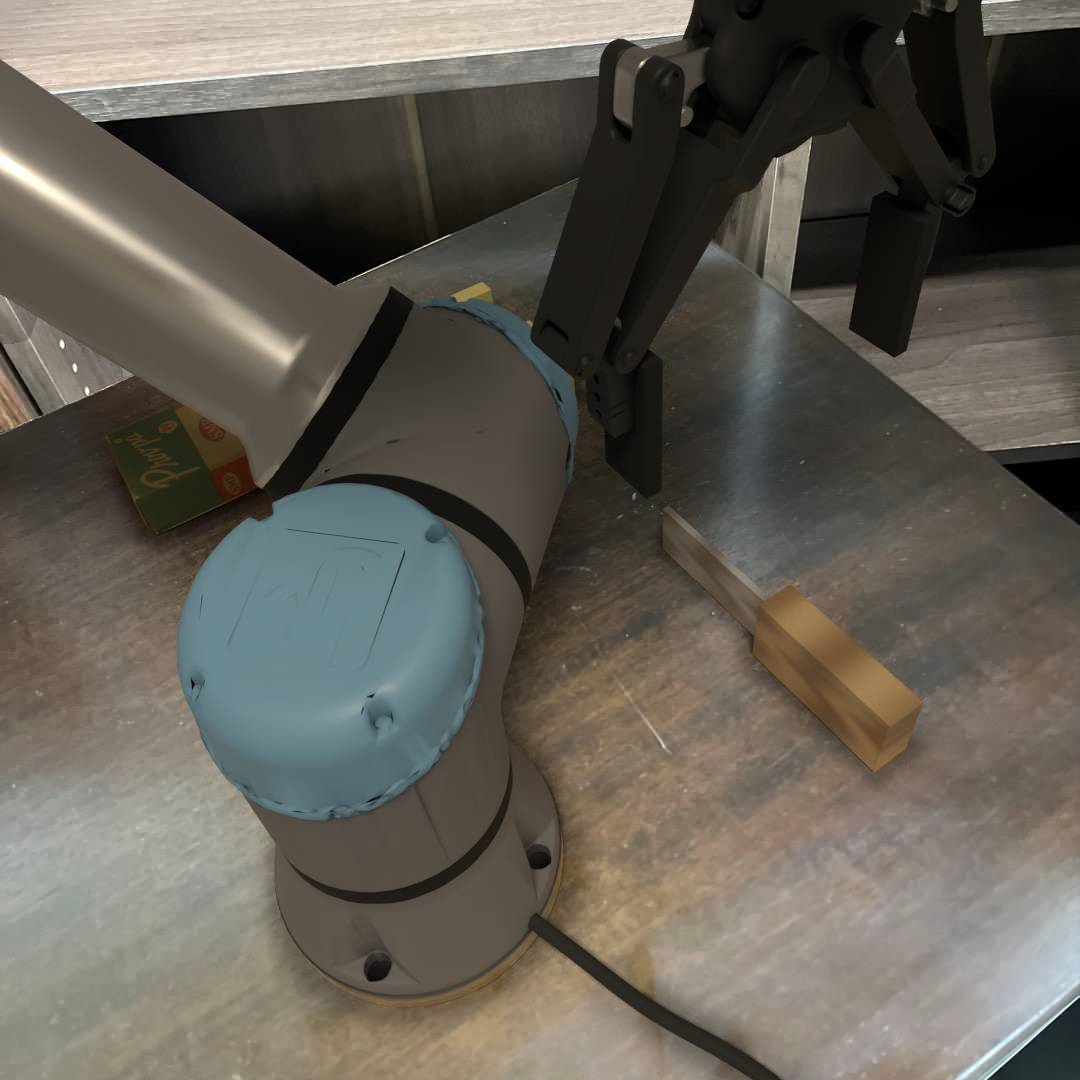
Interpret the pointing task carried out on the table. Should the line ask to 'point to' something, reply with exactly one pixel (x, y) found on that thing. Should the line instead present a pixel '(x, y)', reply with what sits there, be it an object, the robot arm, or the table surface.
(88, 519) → the table surface
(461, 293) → the butter slice
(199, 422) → the carton
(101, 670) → the table surface
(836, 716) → the knife
